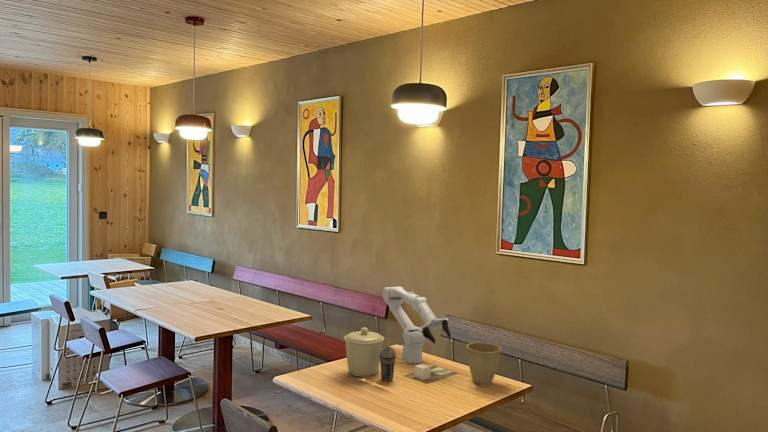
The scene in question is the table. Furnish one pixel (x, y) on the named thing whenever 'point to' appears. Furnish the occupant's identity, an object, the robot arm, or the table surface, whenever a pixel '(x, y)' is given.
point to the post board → (433, 375)
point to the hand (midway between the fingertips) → (442, 339)
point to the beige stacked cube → (422, 371)
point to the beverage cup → (387, 362)
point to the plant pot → (483, 362)
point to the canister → (363, 352)
